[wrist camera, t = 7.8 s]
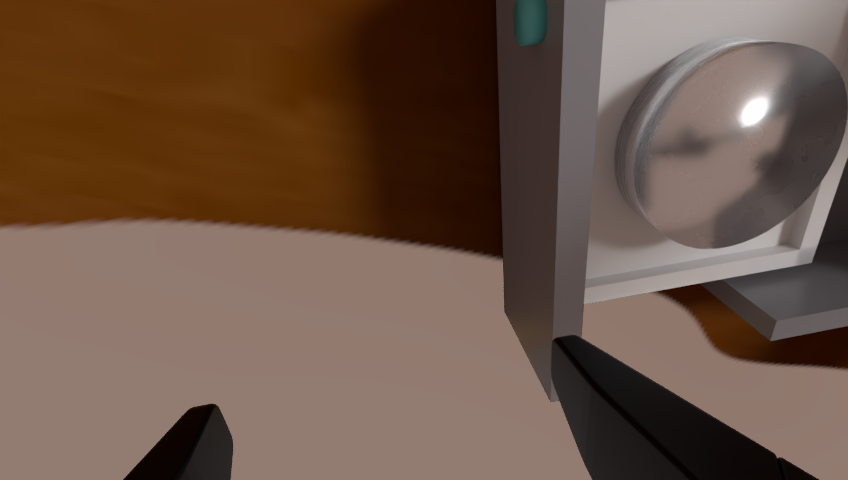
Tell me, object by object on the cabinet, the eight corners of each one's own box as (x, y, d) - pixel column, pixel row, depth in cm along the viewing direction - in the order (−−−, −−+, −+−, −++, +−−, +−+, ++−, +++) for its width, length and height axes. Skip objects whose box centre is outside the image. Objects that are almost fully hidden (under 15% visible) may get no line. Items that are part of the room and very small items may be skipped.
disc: (630, 44, 15) (666, 52, 14) (824, 29, 16) (882, 34, 14) (602, 234, 19) (629, 259, 17) (764, 215, 19) (805, 237, 18)
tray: (871, -117, 16) (1106, -166, 11) (763, 264, 23) (876, 337, 18) (478, -74, 15) (545, -107, 10) (493, 313, 22) (536, 404, 17)
